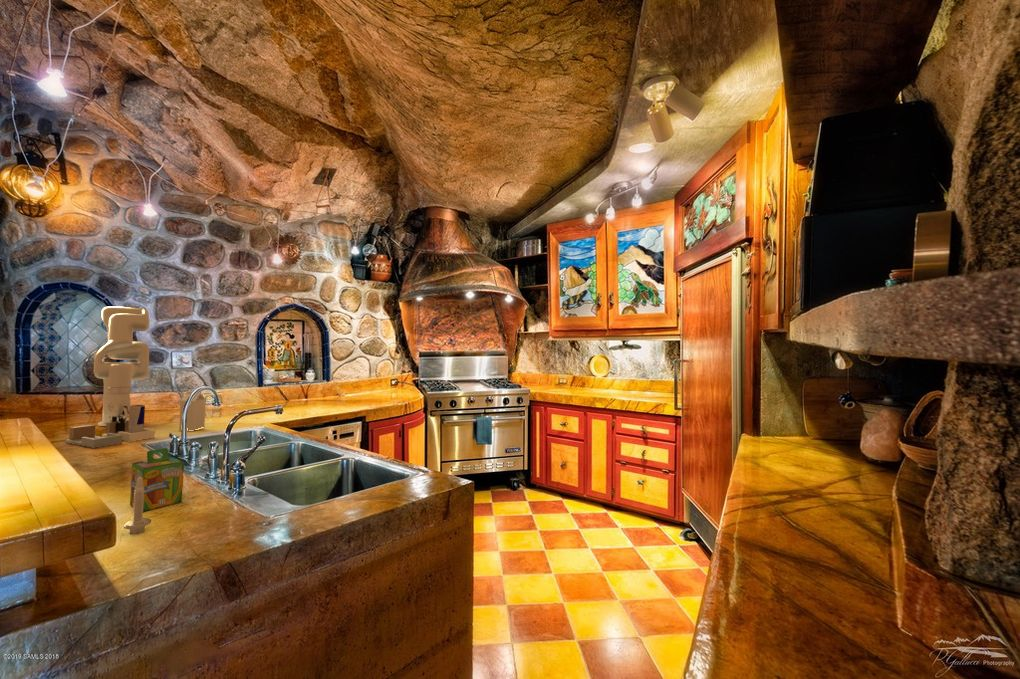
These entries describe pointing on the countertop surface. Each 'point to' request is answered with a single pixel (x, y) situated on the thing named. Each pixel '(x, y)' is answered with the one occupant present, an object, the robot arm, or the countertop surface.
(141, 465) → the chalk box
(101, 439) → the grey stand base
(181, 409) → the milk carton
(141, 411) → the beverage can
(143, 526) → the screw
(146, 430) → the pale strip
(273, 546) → the countertop surface
